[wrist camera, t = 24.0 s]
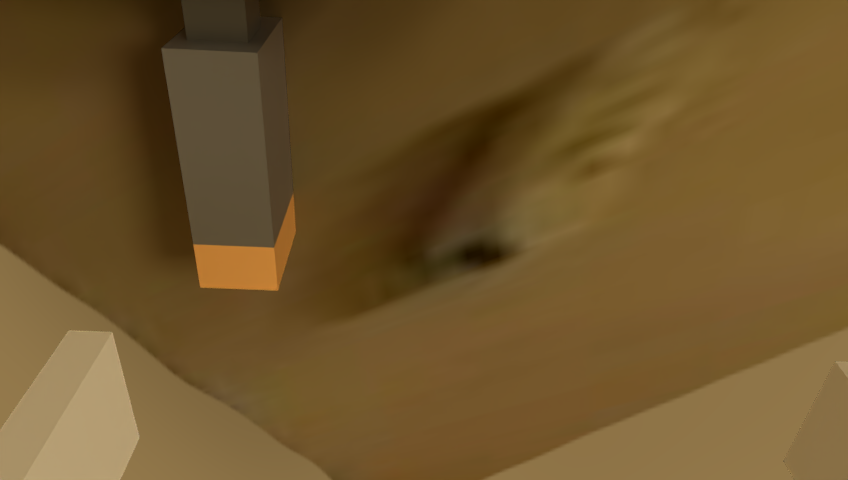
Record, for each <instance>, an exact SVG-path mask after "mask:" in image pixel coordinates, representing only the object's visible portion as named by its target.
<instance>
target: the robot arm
mask: <svg viewBox="0 0 848 480" xmlns="http://www.w3.org/2000/svg"><path fill="white" fill-rule="evenodd" d="M138 440H139V434H138V429H137V425H136V422H135V418H134V414H133V410H132V406H131V402H130V398H129V394H128V391H127V387H126V383H125V379H124V375H123V372H122V368H121V364H120V360H119V356H118V352H117V348H116V344H115V340H114V336H113V332H101V331H78V330H77V331H76V330H69V331H68V332H67V333H66V335H65V337H64V338H63V340H62V341H61V342H60V344H59V345H58V347H57V348H56V350H55V351H54V353H53V354H52V355H51V357H50V358H49V360H48V361H47V363H46V364H45V365H44V367H43V368H42V370H41V371H40V373H39V374H38V376H37V377H36V379H35V380H34V381H33V383H32V384H31V386H30V387H29V389H28V390H27V391H26V393H25V394H24V396H23V397H22V399H21V400H20V402H19V403H18V404H17V406H16V408H15V409H14V410H13V412H12V413H11V415H10V416H9V418H8V419H7V421H6V422H5V424H4V425H3V426H2V428H1V429H0V480H120V479H121V477H122V475H123V473H124V471H125V468H126V466H127V464H128V462H129V459H130V457H131V455H132V453H133V451H134V449H135V447H136V444H137V442H138ZM784 463H785V465H786V466H787V468H788V470H789V472H790V474H791V475H792V477H793V479H794V480H848V362H836V361H835V363H834V364H833V366H832V368H831V370H830V372H829V374H828V376H827V378H826V380H825V382H824V384H823V386H822V388H821V389H820V391H819V393H818V395H817V397H816V399H815V401H814V403H813V405H812V407H811V409H810V411H809V413H808V414H807V416H806V418H805V420H804V422H803V424H802V426H801V428H800V430H799V432H798V434H797V436H796V438H795V439H794V442H793V443H792V445H791V447H790V449H789V451H788V453H787V455H786V457H785V459H784Z"/></svg>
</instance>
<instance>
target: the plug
mask: <svg viewBox="0 0 848 480" xmlns="http://www.w3.org/2000/svg"><path fill="white" fill-rule="evenodd" d="M181 3H182V10H183V17H184V24H185V28H183V29H182V30H181V31H180V32H179V33H178V34H177V35H176V36H174V37H173V38H172V39H171V40H170V41H169V42H168V43H166V44H165V45H164V46H163V47H162V48H161V51H162V57H163V63H164V69H165V75H166V81H167V87H168V93H169V99H170V105H171V112H172V118H173V124H174V130H175V136H176V142H177V148H178V154H179V160H180V166H181V173H182V179H183V185H184V191H185V197H186V203H187V209H188V215H189V221H190V227H191V234H192V240H193V246H194V252H195V258H196V264H197V270H198V276H199V282H200V287H201V288H226V289H252V290H277V291H278V288H279V285H280V282H281V279H282V275H283V272H284V269H285V266H286V262H287V259H288V256H289V253H290V249H291V246H292V243H293V240H294V236H295V233H296V226H295V211H294V195H293V180H292V164H291V149H290V133H289V117H288V102H287V86H286V71H285V55H284V40H283V24H282V18H279V17H260V8H259V0H181Z"/></svg>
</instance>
